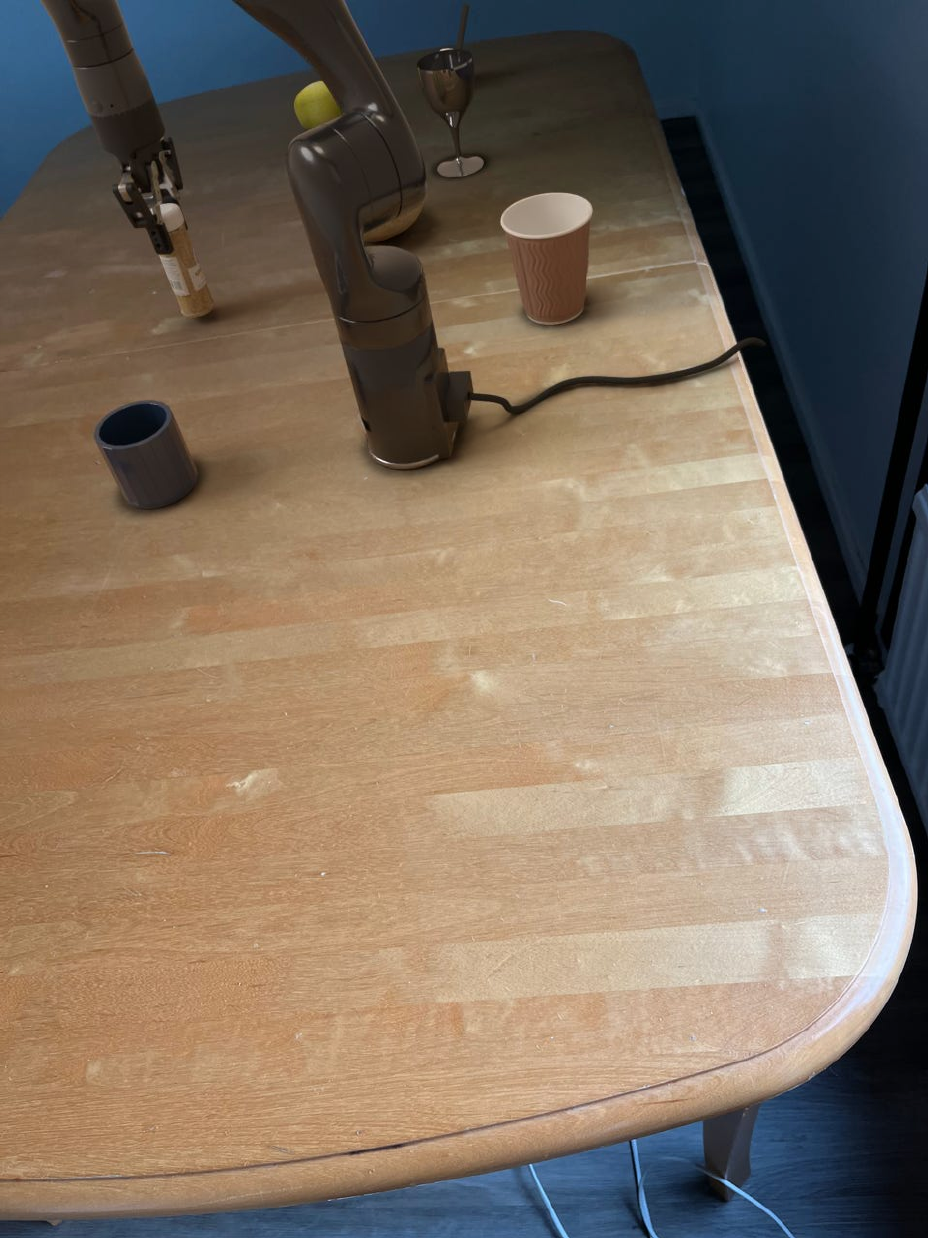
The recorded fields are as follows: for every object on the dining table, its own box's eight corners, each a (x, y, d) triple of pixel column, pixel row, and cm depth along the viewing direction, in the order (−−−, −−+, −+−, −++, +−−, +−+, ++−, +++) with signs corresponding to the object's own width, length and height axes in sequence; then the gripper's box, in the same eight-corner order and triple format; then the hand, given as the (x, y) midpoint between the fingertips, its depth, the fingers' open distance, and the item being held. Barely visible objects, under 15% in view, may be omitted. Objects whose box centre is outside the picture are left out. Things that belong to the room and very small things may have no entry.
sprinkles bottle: (221, 308, 132) (184, 208, 123) (189, 323, 131) (150, 222, 121) (207, 296, 135) (170, 197, 126) (176, 310, 134) (136, 211, 124)
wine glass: (496, 157, 154) (483, 50, 143) (468, 180, 150) (452, 72, 139) (452, 152, 158) (436, 47, 147) (424, 175, 154) (405, 68, 143)
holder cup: (207, 459, 112) (182, 398, 106) (183, 508, 107) (155, 447, 101) (139, 460, 114) (111, 401, 108) (112, 509, 109) (81, 450, 103)
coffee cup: (615, 300, 122) (611, 202, 113) (561, 342, 118) (552, 244, 109) (549, 279, 128) (540, 184, 119) (494, 318, 123) (481, 223, 114)
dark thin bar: (428, 101, 174) (415, 23, 165) (424, 88, 178) (411, 11, 169) (482, 89, 173) (473, 11, 165) (477, 76, 178) (467, 0, 169)
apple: (353, 138, 167) (342, 87, 161) (299, 146, 168) (286, 96, 162) (357, 119, 172) (346, 69, 167) (305, 127, 174) (292, 77, 168)
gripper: (125, 121, 109) (181, 269, 121) (171, 70, 118) (218, 213, 131) (62, 128, 110) (124, 274, 123) (112, 77, 120) (165, 217, 132)
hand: (172, 241), depth 127 cm, fingers closed on sprinkles bottle, 4 cm apart
